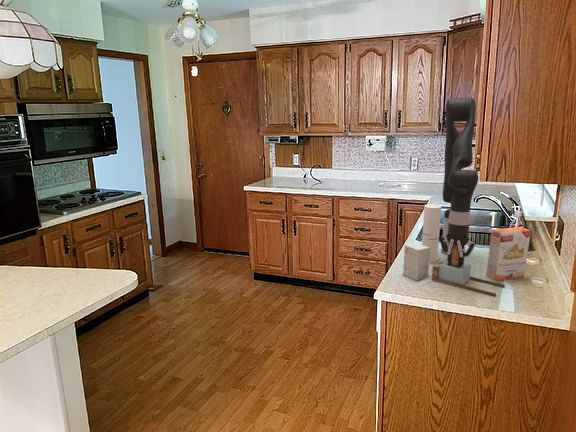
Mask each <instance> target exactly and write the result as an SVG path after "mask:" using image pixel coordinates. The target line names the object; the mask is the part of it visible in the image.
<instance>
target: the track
mask: <svg viewBox="0 0 576 432" xmlns="http://www.w3.org/2000/svg"><path fill="white" fill-rule="evenodd" d="M445 261H447V258H443V259H442V260H440V261H439V262H436V263H434V264H433V266H432V271H431V281H433V282H436V283H441V284H444V285H448V286H453V287H455V288H456V287H457V288H460V289H463V290H468V291H471V292H474V293H475V292H476V293H478V294H482V295H486V296H491V297H497V293H495V292H492V291H487V290H483V289H480V288H476V287H471V286H469V285H465V284H464V285H461V284H457V283H453V282H449V281H445V280H441V279H438V276H439V265H441V264H442V263H444V262H445ZM470 280H471V281H473V282H478V283H482V284H487V285H491V286H495V287H498V288H503V289H504V288H505V287H506V285H505V284H503V283H499V282H496V281H491V280H488V279H487V280H486V279H482V278H479V277H474V276H471V275H470ZM470 280H469V281H470Z"/></svg>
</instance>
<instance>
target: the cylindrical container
mask: <svg viewBox="0 0 576 432" xmlns="http://www.w3.org/2000/svg"><path fill="white" fill-rule="evenodd" d="M423 210H424V211H423V223H422V233H421V234H422V235H421V236H422V238H421V245H424V246H426V247H429V248H430V255H429V264H431V263H432V264H433V263H438V254H439V246H440V245H439V243H440V232H441V229H440V228H441V217H442V205H439V204H424V207H423Z"/></svg>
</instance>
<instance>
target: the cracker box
mask: <svg viewBox="0 0 576 432" xmlns="http://www.w3.org/2000/svg"><path fill="white" fill-rule="evenodd" d="M531 232H532V231H531V229H528V228H524V227H522V226H517V227H515V226H514V227H506V228H495V229H494V228H492V229H491V233H490V242H489V248H488V249H489V251H488V257H487V265H486V274H485V275H486V276H485V277H487V278H489V279H491V280H493V282H498V281H500V282H501V281H506V280H513V279H520V278H523V279H524V278H525V273H526V268H527V267H526V265H527V259H528V254H529V246H530V240H531V239H530V238H531Z"/></svg>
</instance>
